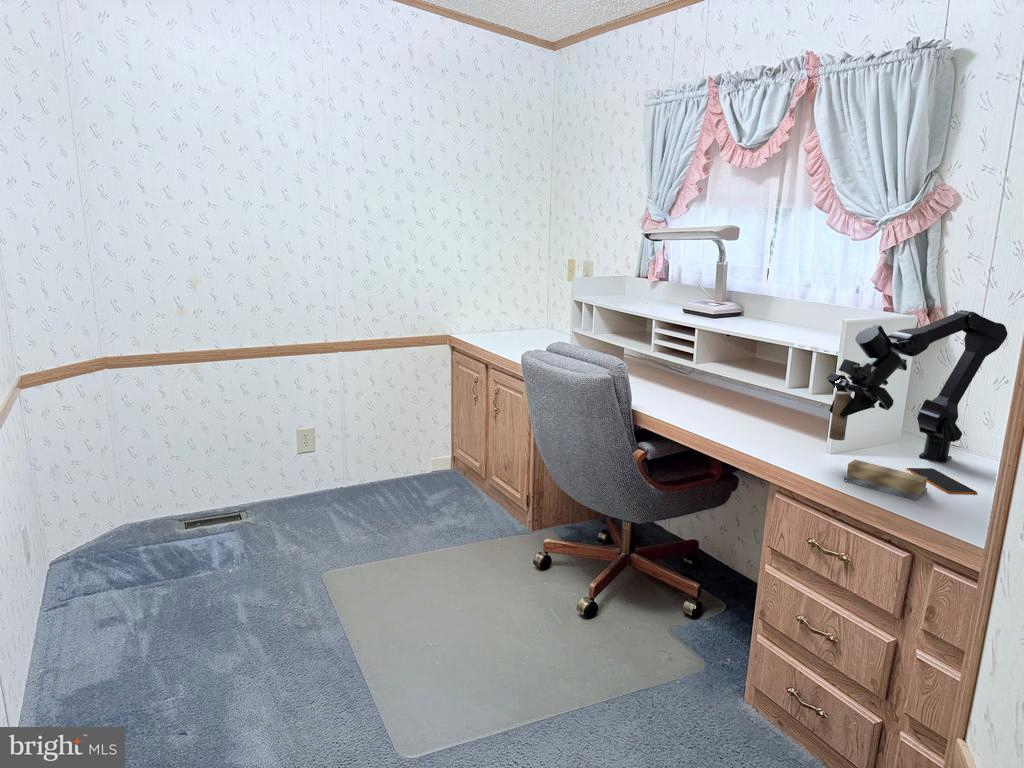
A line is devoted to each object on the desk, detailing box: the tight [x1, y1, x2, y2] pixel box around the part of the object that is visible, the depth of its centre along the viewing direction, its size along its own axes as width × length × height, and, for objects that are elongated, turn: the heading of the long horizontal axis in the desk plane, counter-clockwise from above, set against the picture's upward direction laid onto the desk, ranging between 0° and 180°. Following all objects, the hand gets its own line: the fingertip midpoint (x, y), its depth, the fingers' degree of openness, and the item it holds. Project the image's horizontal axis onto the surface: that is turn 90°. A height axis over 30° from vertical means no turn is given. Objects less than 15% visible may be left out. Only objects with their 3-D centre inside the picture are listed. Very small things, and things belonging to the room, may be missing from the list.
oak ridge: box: [842, 459, 928, 501], centre depth 162 cm, size 16×8×4 cm, turn 44°
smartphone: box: [905, 467, 979, 495], centre depth 167 cm, size 8×17×1 cm, turn 3°
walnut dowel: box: [828, 391, 852, 441], centre depth 174 cm, size 4×4×12 cm
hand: (835, 413), depth 174 cm, fingers closed on walnut dowel, 4 cm apart
